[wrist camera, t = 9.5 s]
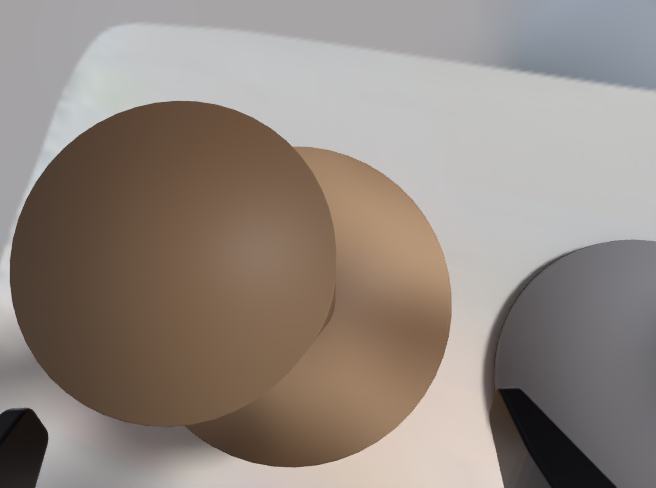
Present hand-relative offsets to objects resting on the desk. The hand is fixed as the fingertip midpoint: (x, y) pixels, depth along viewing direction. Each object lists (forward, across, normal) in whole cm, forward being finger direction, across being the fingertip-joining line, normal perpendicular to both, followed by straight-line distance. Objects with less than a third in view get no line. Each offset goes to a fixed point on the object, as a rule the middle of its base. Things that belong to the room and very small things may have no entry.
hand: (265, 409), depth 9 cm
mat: (+8, -15, +10) cm, 20 cm away
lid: (+7, 0, +4) cm, 8 cm away
